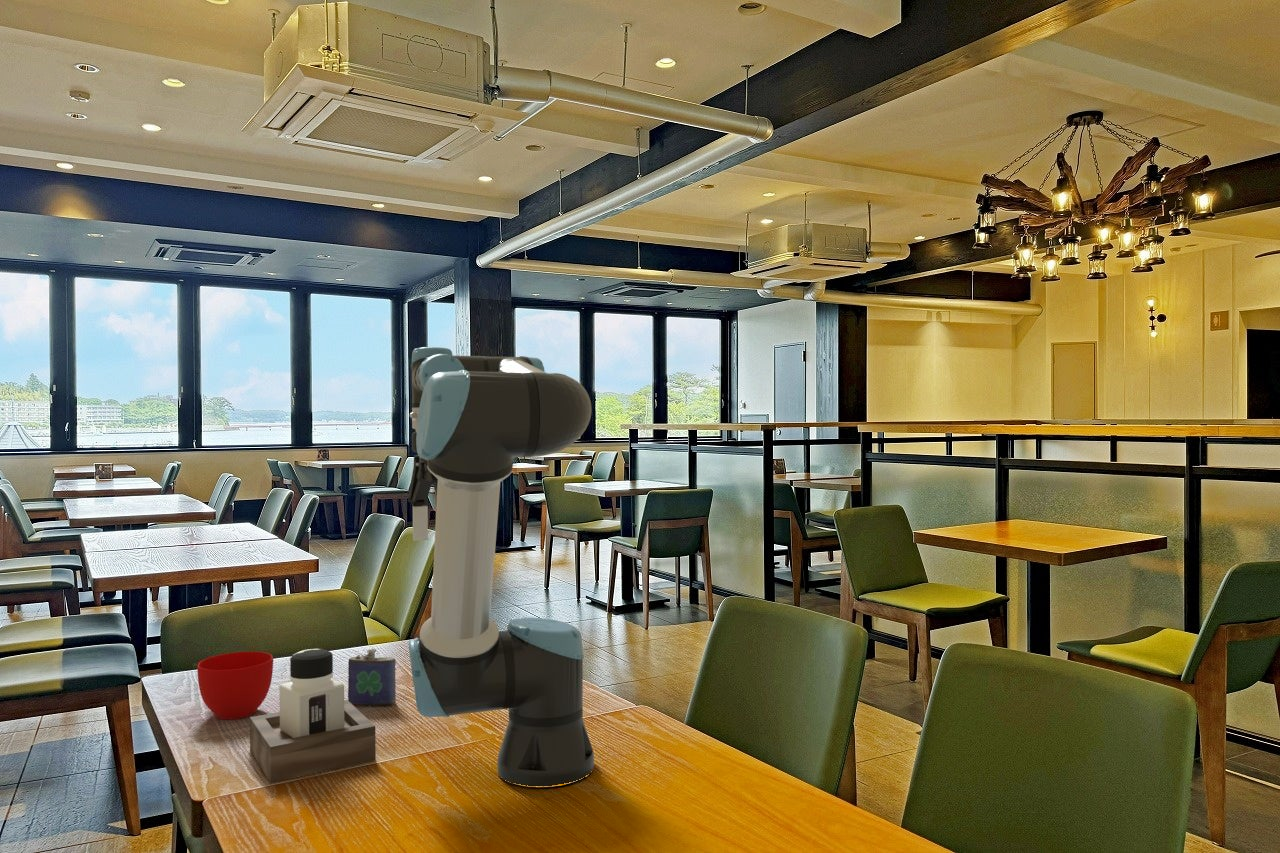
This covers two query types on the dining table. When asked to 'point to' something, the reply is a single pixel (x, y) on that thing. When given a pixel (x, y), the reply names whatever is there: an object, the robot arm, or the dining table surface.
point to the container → (311, 695)
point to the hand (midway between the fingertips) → (433, 544)
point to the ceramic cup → (235, 682)
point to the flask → (371, 680)
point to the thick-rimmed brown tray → (311, 746)
